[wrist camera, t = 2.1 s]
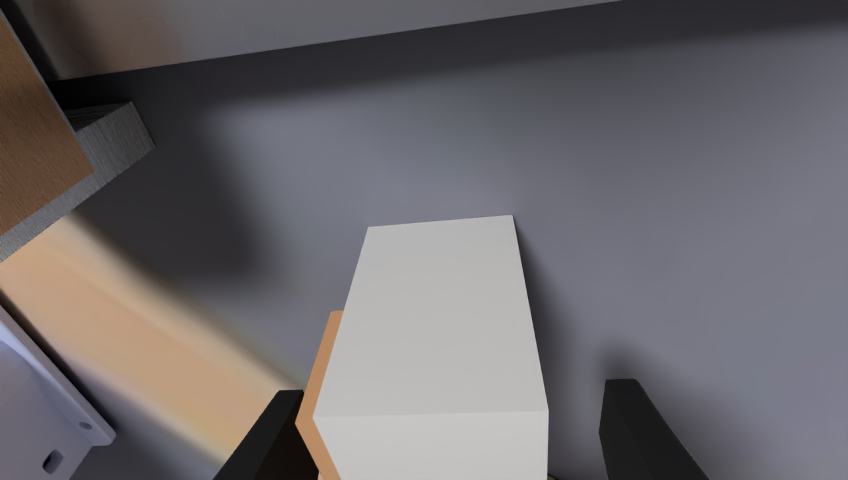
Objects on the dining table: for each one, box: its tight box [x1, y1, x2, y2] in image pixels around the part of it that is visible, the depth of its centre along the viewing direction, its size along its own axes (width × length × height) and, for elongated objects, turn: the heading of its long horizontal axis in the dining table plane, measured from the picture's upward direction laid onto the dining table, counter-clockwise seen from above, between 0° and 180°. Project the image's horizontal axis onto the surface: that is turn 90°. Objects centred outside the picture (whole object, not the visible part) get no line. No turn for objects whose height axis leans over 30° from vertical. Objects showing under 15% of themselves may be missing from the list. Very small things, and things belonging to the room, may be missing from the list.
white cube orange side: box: [295, 215, 549, 480], centre depth 12 cm, size 6×5×6 cm
